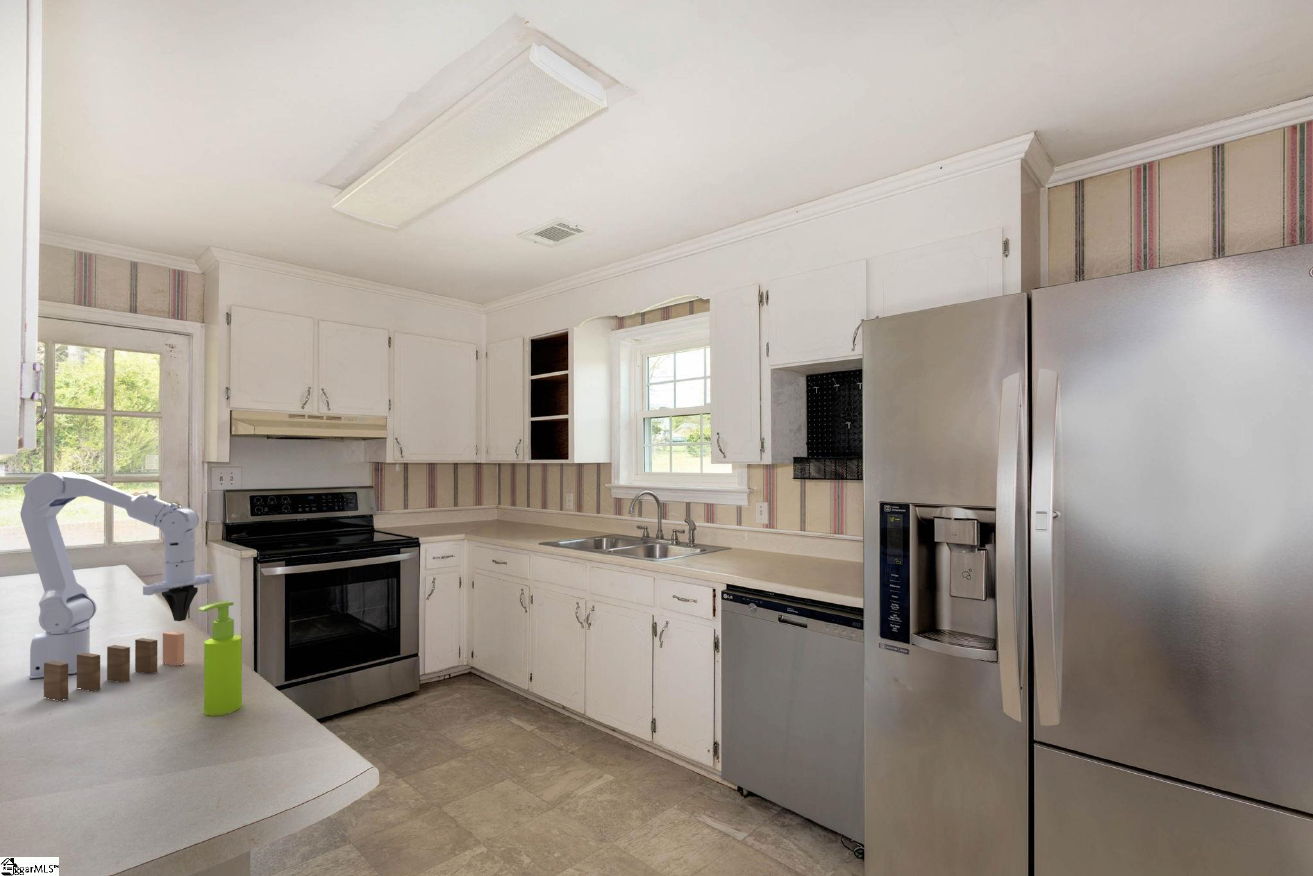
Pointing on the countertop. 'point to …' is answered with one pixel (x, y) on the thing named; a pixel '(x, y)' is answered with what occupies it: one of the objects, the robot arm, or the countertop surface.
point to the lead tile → (173, 648)
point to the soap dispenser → (222, 664)
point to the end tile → (56, 680)
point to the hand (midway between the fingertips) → (179, 620)
